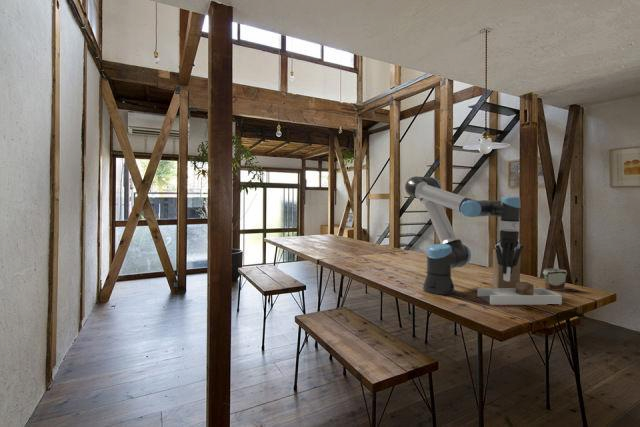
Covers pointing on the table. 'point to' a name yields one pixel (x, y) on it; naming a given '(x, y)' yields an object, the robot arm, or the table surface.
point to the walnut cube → (524, 288)
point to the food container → (555, 279)
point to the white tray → (518, 296)
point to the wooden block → (498, 275)
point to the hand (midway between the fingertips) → (506, 280)
